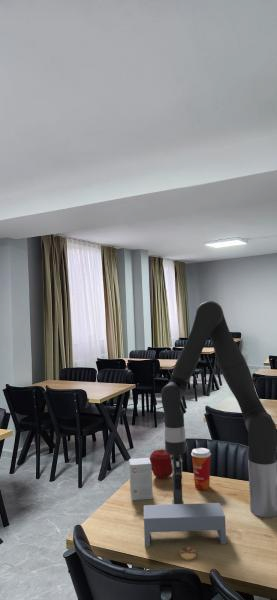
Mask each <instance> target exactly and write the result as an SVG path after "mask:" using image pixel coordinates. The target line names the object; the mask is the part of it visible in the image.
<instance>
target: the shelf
mask: <svg viewBox="0 0 277 600" xmlns="http://www.w3.org/2000/svg"><path fill="white" fill-rule="evenodd" d="M143 525H144V526H143V531H144V533H143V534H144V536H143V537H144V547H150V546H151V544H150V543H151V538H150V537H151V536H150V535H151V534H150V533H169V532H171V533H173V532H175V533H176V532H202V531H216V533H217V536H218V538H219V542H220V544H221V545H227V531H226V530H227V529H226V528H227V526H226V515H225V513H224V510H223V508H222V505H221V503H220V502H210V503H207V502H205V503H203V502H202V503H184V504H172V503H171V504H148V505H143Z"/></svg>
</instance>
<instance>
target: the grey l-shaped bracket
mask: <svg viewBox="0 0 277 600" xmlns="http://www.w3.org/2000/svg"><path fill="white" fill-rule="evenodd" d="M171 475H172V498H173V499H172V500H171V504H185V502H184V499H183V488H182V489H181V490H176V489H175V478H174V472H172V474H171ZM176 475H180V472H176ZM182 479H183V478H182ZM182 479H181V485H182V486H183V483H182V482H183V481H182Z"/></svg>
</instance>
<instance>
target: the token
mask: <svg viewBox="0 0 277 600" xmlns="http://www.w3.org/2000/svg"><path fill="white" fill-rule="evenodd" d="M196 552H197V551H196V550H195V548H193V547H189V546H188V547H187V546H185V547H182V548H181V549H180V550H179V557H180V558H181V559H183V560H185V561H192V560H195V558H197V553H196Z"/></svg>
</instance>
